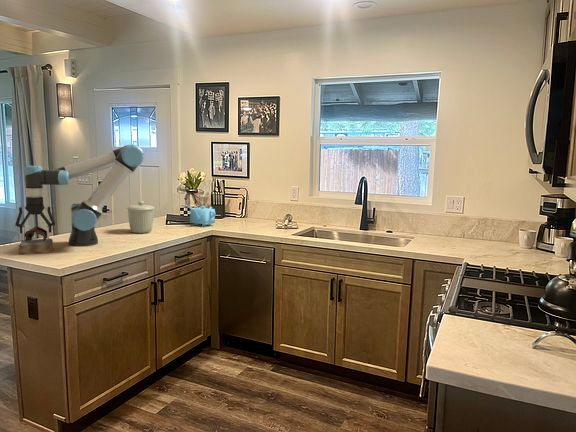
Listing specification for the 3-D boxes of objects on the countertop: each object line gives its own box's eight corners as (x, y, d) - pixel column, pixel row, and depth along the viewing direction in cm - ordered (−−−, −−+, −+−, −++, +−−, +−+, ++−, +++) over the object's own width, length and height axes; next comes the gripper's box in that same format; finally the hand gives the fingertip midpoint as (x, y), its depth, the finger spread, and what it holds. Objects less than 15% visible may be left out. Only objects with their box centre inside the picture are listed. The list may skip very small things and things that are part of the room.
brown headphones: (31, 238, 224) (39, 225, 225) (45, 248, 223) (53, 234, 224) (15, 237, 212) (24, 223, 213) (30, 247, 211) (39, 233, 212)
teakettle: (216, 227, 314) (217, 207, 312) (191, 227, 307) (191, 207, 305) (211, 223, 331) (212, 204, 329) (187, 223, 324) (187, 204, 322)
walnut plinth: (52, 247, 227) (52, 238, 226) (51, 253, 215) (51, 243, 214) (22, 248, 221) (21, 239, 220) (18, 254, 209) (18, 245, 208)
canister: (127, 229, 287) (127, 199, 284) (155, 229, 293) (155, 199, 290) (126, 234, 270) (125, 202, 267) (155, 234, 276) (155, 202, 273)
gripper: (60, 195, 222) (61, 236, 225) (9, 195, 212) (11, 238, 215) (59, 197, 216) (60, 239, 219) (6, 197, 206) (9, 241, 209)
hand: (36, 239), depth 217 cm, fingers open, 10 cm apart
